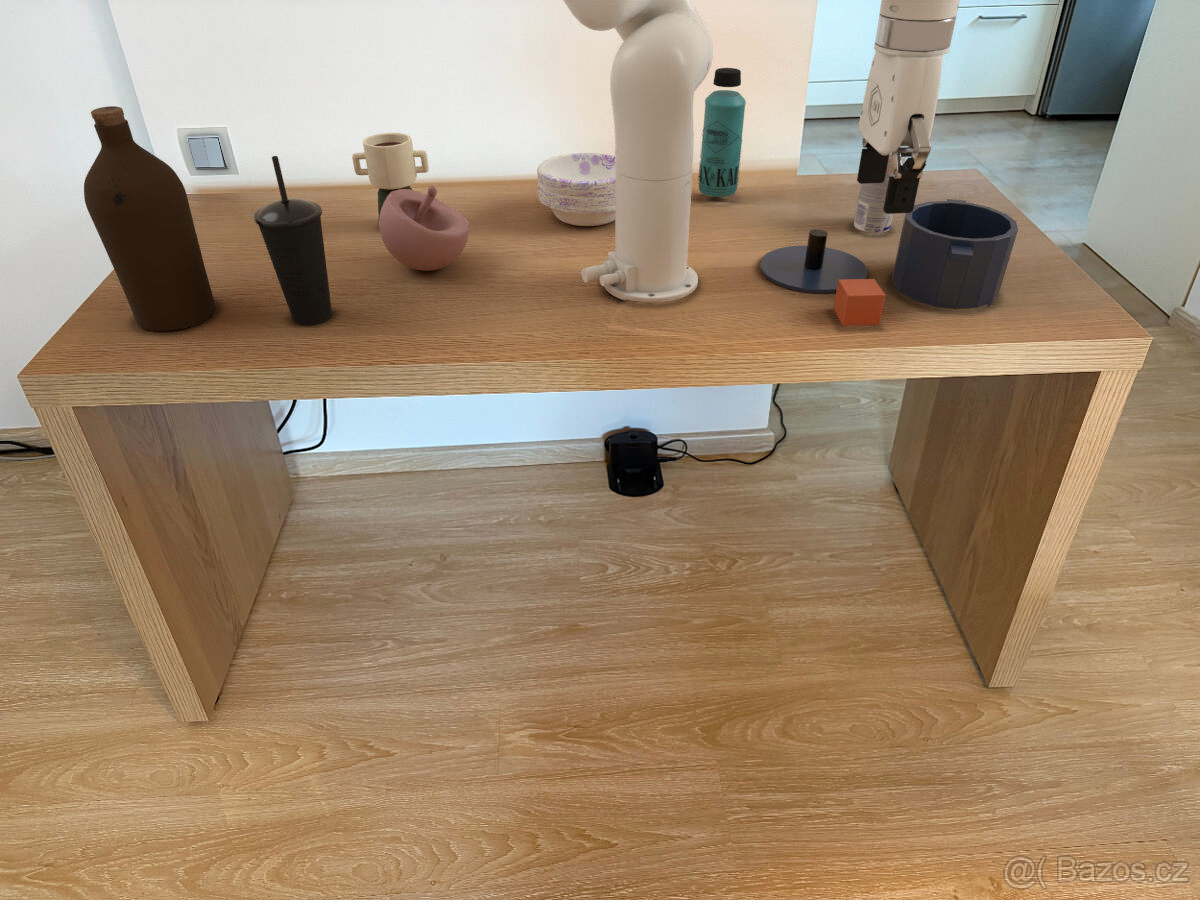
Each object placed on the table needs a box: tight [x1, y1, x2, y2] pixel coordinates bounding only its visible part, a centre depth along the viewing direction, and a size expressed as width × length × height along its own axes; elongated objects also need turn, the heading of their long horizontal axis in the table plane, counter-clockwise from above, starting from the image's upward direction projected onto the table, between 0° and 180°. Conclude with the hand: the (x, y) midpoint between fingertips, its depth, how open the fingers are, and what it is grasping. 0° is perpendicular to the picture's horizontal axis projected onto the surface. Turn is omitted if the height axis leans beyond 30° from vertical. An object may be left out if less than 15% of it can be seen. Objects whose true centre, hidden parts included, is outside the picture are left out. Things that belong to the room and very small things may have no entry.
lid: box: [759, 228, 868, 294], centre depth 113 cm, size 14×14×6 cm
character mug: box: [351, 132, 430, 219], centre depth 127 cm, size 11×7×13 cm, turn 96°
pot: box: [891, 198, 1019, 310], centre depth 108 cm, size 13×19×10 cm
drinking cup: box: [253, 155, 333, 326], centre depth 100 cm, size 8×8×20 cm
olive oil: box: [83, 105, 216, 332], centre depth 100 cm, size 11×11×25 cm
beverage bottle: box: [697, 67, 747, 198], centre depth 132 cm, size 6×7×20 cm
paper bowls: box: [536, 152, 615, 227], centre depth 130 cm, size 15×15×8 cm
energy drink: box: [853, 146, 906, 234], centre depth 124 cm, size 5×5×12 cm
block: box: [832, 278, 886, 326], centre depth 103 cm, size 4×4×4 cm
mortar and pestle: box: [378, 185, 470, 272], centre depth 115 cm, size 12×12×11 cm
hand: (883, 196), depth 97 cm, fingers open, 9 cm apart
